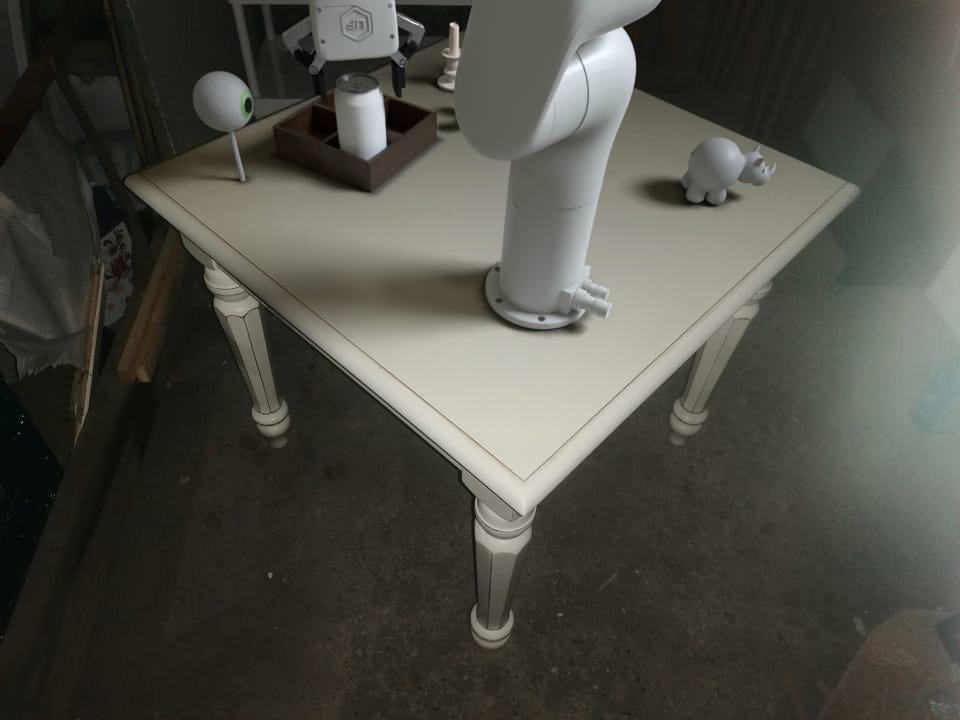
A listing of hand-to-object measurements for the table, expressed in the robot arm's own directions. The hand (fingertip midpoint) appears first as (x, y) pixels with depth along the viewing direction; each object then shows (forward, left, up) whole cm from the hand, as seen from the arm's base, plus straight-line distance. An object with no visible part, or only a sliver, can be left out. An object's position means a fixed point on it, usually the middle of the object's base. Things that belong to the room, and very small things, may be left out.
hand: (361, 96), depth 88 cm
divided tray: (+5, -4, -11) cm, 13 cm away
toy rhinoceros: (-45, -23, -11) cm, 52 cm away
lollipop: (+13, +12, -11) cm, 21 cm away
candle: (+4, -29, -11) cm, 32 cm away
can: (0, 0, -11) cm, 11 cm away
